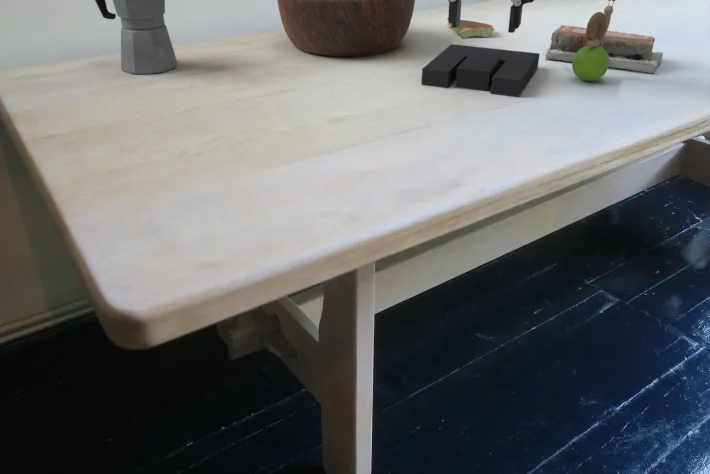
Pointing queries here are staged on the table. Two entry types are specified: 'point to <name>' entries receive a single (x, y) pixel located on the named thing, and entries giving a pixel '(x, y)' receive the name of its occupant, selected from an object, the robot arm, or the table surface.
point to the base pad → (512, 65)
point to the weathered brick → (607, 48)
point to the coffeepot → (142, 35)
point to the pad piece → (477, 72)
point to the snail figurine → (594, 48)
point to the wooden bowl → (346, 25)
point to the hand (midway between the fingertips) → (483, 29)
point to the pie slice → (473, 29)
